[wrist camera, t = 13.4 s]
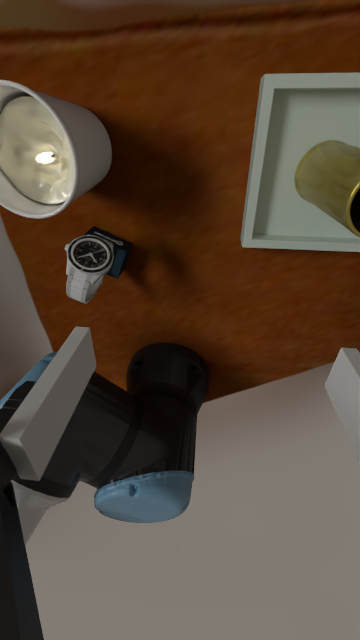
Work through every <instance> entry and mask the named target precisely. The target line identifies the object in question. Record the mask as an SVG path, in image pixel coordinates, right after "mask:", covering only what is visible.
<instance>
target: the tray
mask: <svg viewBox="0 0 360 640" xmlns="http://www.w3.org/2000/svg"><path fill="white" fill-rule="evenodd" d="M328 140H337V141H341V142H344V143H346V144H348V145H351V146H355V147H359V148H360V73H304V74H265V75H264V76H263V77H262V78H261V81H260V89H259V97H258V105H257V113H256V121H255V128H254V136H253V144H252V152H251V160H250V168H249V176H248V184H247V192H246V199H245V207H244V215H243V223H242V231H241V244H242V247H251V248H275V249H300V250H324V251H348V252H360V237H358V236H356V235H354V234H353V233H352V232H351V231H349V230H348V229H347V228H346V227H344V226H343V225H342V224H340V223H339V222H337V221H336V220H334V219H333V218H332V217H330V216H329V215H327V214H326V213H325V212H323V211H322V210H321V209H319V208H318V207H317V206H315V205H314V204H312V203H310V202H308V201H306V200H304V199H303V198H301V196H300V195H299V194H298V192H297V190H296V187H295V181H294V178H295V172H296V169H297V166H298V164H299V162H300V160H301V159H302V157H303V156H304V155H305V154H306V153H307V152H308V151H309V150H310V149H311V148H312V147H314V146H315V145H317V144H319V143H321V142H324V141H328Z"/></svg>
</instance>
